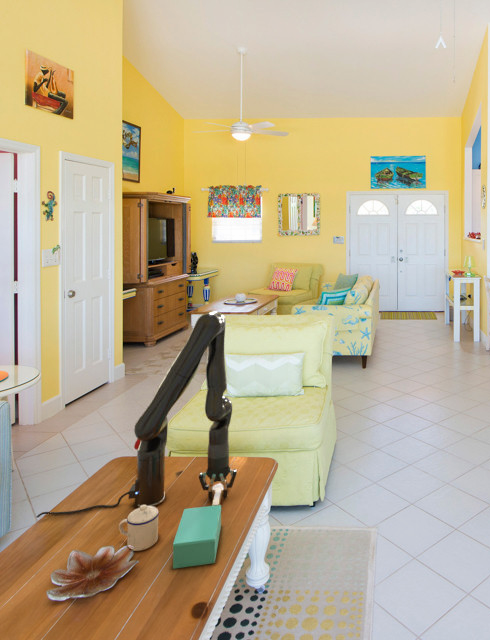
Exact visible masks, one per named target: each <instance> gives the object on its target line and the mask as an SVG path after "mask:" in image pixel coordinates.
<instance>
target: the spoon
mask: <svg viewBox="0 0 490 640" xmlns="http://www.w3.org/2000/svg"><path fill="white" fill-rule="evenodd" d="M212 489H213V500H212V504H211V506H216V505H221V502H222V497H223V489H224V488H223V485H222V482H221V483H220V482H219V483H216V484H213V487H212Z"/></svg>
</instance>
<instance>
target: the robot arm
mask: <svg viewBox="0 0 490 640" xmlns="http://www.w3.org/2000/svg"><path fill="white" fill-rule="evenodd" d="M226 323H227V322H226V317H225V316H224V314H222V313H221V312H220V311H217V310H211V311H208V312H205V313H203V314H201V315H200V316H199V317H198V319H197V320H196V321H195V324H194V325H193V328H192V330H191V333H190V334H189V337H188V339H187V341H186V342H185V344H184V345H183V347H182V349H180V351H179V352H178V354H177V356H176V357H175V359H174V360H173V362H172V363H171V365H170V366H169V368H168V370H167V372H166V373H165V375H164V377H163V379H162V380H161V382H160V384H159V386H158V388H157V389H156V392H155V394H154V396H153V398H152V400H151V401H150V403H149V404H148V406H147V407H146V408H145V410H144V411H143V412H142V413H141V415H140V417H138V419H137V421H135V424H134V427H133V428H134V430H133V432H134V436H135V437H136V439H139V440H141V442H140V445H139V447H138V450H136V451H137V452H136V457H137V458H136V478H135V481H134V483H132V485H131V487H130V489H129V490H128V491H127V492H125V493H123V494H122V495H120V497H119V498H118V500H117V503H115V504H113V505H107V504H97V505H92V506H89V507H85V508H82V509H77V510H69V511H56V512H55V511H42V512H40V513H39V514H37V515H36V516H35V518H40V517H41V516H43V515H51V516H53V515H54V516H55V515H70V514H76V513H82V512H85V511H89V510H92V509H93V510H94V509H99V508H106V509H107V508H109V509H110V508H115V507H118V506H119V505H120V503H121V500H122V499H123V498H124V497H125V496H127V495H128V500H132V499H134V508H140V506H141V505H146V506H153V507H157V506H159V505H161V504H162V503H164V501H165V498H166V497H165V495H166V494H165V478H166V476H165V475H166V474H165V473H166V472H165V471H166V470H165V469H166V446H167V442H168V427H169V425H168V424H169V422H168V420H169V419H168V415H169V413H170V412H171V410H172V409H173V407H174V405H175V404H176V403H177V402H178V401H179V399H181V397H182V396H183V395H184V393H185V392H186V391H187V389H188V388H189V386H190V384H191V383H192V381H193V380H194V378H195V376H196V374H197V372H198V370H199V368H200V364H201V361H202V358H203V356H204V354H205V351H206V350H207V353H206V355H207V356H206V362H205V363H206V364H205V381H206V389H207V390H206V395H205V396H206V397H205V401H204V404H205V405H204V413H205V417H206V418H207V419H208V421H210V422H212V424H211V425H210V427H209V430H208V444H207V469H206V470H205V471H204V472H202V471H200V472H199V474H198V479H199V483H200V485H201V488H202V490H203V492H204V491H207V493H208V494H207V499H208V500H209V501H210V502H213V499H214V495H213V489H212V487H213V486H214V483H217V482H219V483H220V482H221V483H222V485H223V488H224V489H223V495H222V497H223V498H222V500H223V501H225V500H226V499H227V498H228V492H229V491H228V489H232V487H233V485H234V484H235V483H234V482H235V481H236V477H237V474H238V469H237V468H234V469H232V468H231V467H230V444H229V443H230V442H229V440H230V439H229V434H230V432H229V431H230V424H231V421H232V420H231V419H232V415H233V404H232V401H231V399H230V398H229V397H227V396H224V393H225V392H226V390H227V388H228V383H227V371H226V361H225V359H226V358H225V338H226V326H227V325H226ZM229 474H230V481H229V482H228V481H227V477H228V475H229ZM207 477H208V479H209V484H208V483H207V481H206V478H207ZM50 512H51V513H50ZM48 513H49V514H48Z"/></svg>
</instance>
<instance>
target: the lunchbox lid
mask: <svg viewBox="0 0 490 640" xmlns="http://www.w3.org/2000/svg"><path fill="white" fill-rule="evenodd" d="M220 510H221V511H222V504H220V505H216V506H212V505H208V506H199V507H197V506H196V507H190V508H189V507H188V508H184V509H183V512H182V515H181V518H180V522H179V524H178V527H177V531H176V534H175V536H174V540H173V543H172V548H173V547H174V546H182V545H190V544H198V543H206V542H214V541H215V537H216V532H217V526H218V521H219V516H220Z"/></svg>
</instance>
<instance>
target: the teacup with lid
mask: <svg viewBox="0 0 490 640" xmlns="http://www.w3.org/2000/svg"><path fill="white" fill-rule="evenodd" d="M159 514H160V511H159V509H158V508H157V506H155V507H153V506H146V505H141V506H140V508H139V507H137V508H136V509H133V510H132V511H131V512H130V513H129V514H128V515H127V518H124V519H122V520H121V521H120V523H119V524H118V530H119V532H120V534H121V535H122V536H125V537H127V541H126V542H127V543H126V546H127V545H131V546H133V547H134V548H133V550H132V551H134V552H140V551H144V550H147V549H150V548H151V547H153V546H154V545H155V544H156V543H157V541H158V539H159ZM124 523H127V531H126V530H125V529H124V527H123V524H124Z"/></svg>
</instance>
